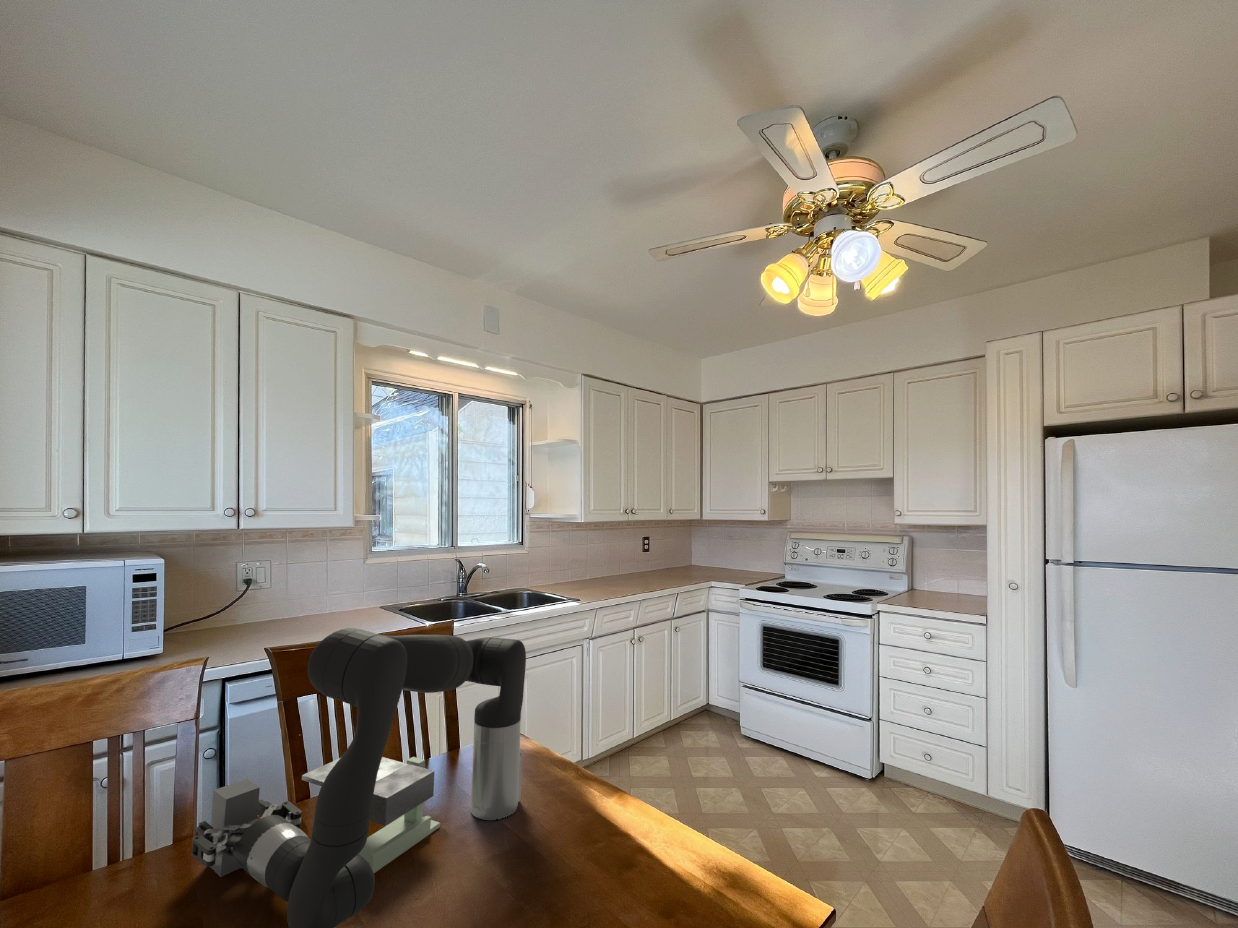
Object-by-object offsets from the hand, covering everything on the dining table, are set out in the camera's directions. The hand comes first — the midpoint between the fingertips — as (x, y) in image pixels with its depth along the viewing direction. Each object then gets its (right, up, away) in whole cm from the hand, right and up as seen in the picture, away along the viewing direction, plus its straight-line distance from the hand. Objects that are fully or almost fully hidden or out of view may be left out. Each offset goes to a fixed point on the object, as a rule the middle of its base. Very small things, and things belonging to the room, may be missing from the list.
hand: (230, 816), depth 96 cm
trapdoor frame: (+24, -8, +5) cm, 25 cm away
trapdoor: (+20, -1, +7) cm, 21 cm away
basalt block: (+1, -7, -1) cm, 7 cm away
